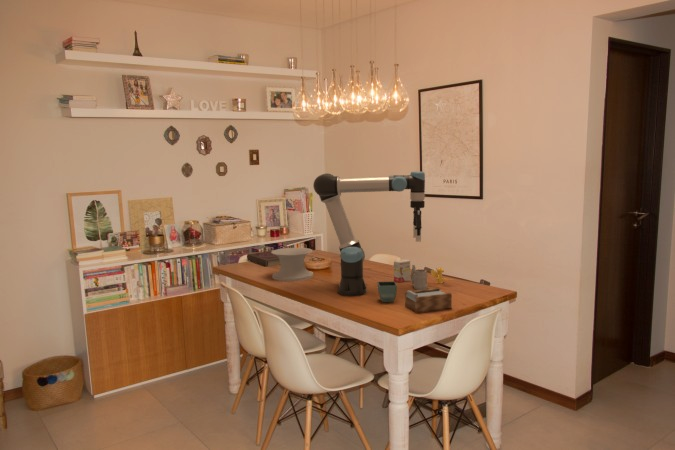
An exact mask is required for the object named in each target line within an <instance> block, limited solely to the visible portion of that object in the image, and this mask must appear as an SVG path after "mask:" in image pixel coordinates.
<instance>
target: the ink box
mask: <svg viewBox="0 0 675 450" xmlns="http://www.w3.org/2000/svg"><path fill="white" fill-rule="evenodd" d="M410 281H411V260H409V259H406V258H405V259H398V260H394V261H393V282H395V283H405V282H410Z"/></svg>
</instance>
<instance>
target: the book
mask: <svg viewBox="0 0 675 450" xmlns="http://www.w3.org/2000/svg"><path fill="white" fill-rule="evenodd" d="M272 251H273V250H266V251H259V252H251V253H247V255H246V259H247V261H249V262H252V263H254V264H257V265H259V266H263V267H266V268H267V267H275V266H281V262H280V259H279V257H278V256H277V255H275V254H273V253H271V252H272Z"/></svg>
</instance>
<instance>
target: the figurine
mask: <svg viewBox="0 0 675 450" xmlns="http://www.w3.org/2000/svg"><path fill="white" fill-rule="evenodd" d="M437 267H438V266H435V269H436V270H433V269H431V270H430V274H431V276H432V277H433V278H434V279H436V281H435V284H443V283H444V281H446V280H448V281H449V280H450V281H451V280H453V281H454V279H452V278H443V273H444V272H445V270H444V268H443V267H442V266H441V267H438V268H437Z"/></svg>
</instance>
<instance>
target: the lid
mask: <svg viewBox="0 0 675 450" xmlns="http://www.w3.org/2000/svg"><path fill="white" fill-rule="evenodd" d="M412 291H413V290H407V291H406V292H407V294H406V297H407V298H409V299H411V300H413V301H415V302H416V299H415V297H421V296H429V295H438V294H446V292H444V291H441V289H440V290H438V291H430V292H421V293H414V292H412Z"/></svg>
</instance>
